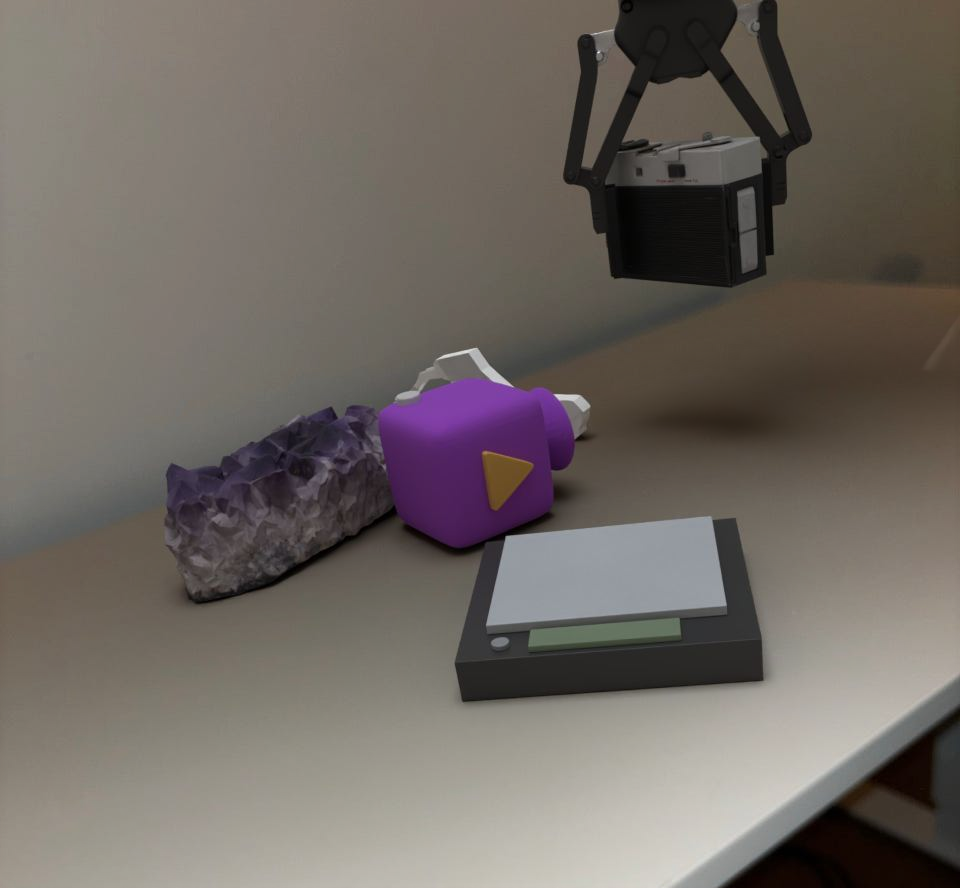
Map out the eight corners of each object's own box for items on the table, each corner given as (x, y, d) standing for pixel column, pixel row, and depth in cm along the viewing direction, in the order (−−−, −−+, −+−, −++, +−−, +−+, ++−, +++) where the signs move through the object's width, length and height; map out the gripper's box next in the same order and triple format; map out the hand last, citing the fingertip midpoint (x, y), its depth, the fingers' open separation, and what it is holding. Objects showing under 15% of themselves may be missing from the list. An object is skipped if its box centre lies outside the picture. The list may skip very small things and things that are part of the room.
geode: (263, 619, 71) (202, 481, 66) (160, 613, 78) (98, 488, 74) (439, 488, 84) (398, 366, 80) (337, 493, 91) (294, 381, 87)
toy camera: (606, 491, 80) (592, 360, 75) (478, 564, 72) (453, 424, 68) (505, 469, 87) (487, 349, 82) (379, 534, 80) (350, 406, 75)
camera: (811, 261, 78) (802, 113, 73) (711, 298, 76) (694, 147, 71) (697, 248, 90) (683, 120, 85) (607, 280, 87) (586, 149, 82)
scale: (737, 553, 68) (735, 508, 66) (763, 680, 55) (761, 628, 54) (491, 575, 71) (484, 533, 69) (462, 701, 58) (452, 652, 56)
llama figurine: (443, 495, 101) (592, 432, 89) (384, 388, 98) (530, 308, 86) (453, 487, 102) (601, 425, 90) (395, 381, 100) (540, 302, 88)
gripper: (836, -106, 73) (838, 231, 83) (505, -36, 77) (547, 276, 88) (856, -118, 66) (856, 249, 77) (494, -40, 71) (541, 297, 81)
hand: (692, 263), depth 82 cm, fingers closed on camera, 11 cm apart
